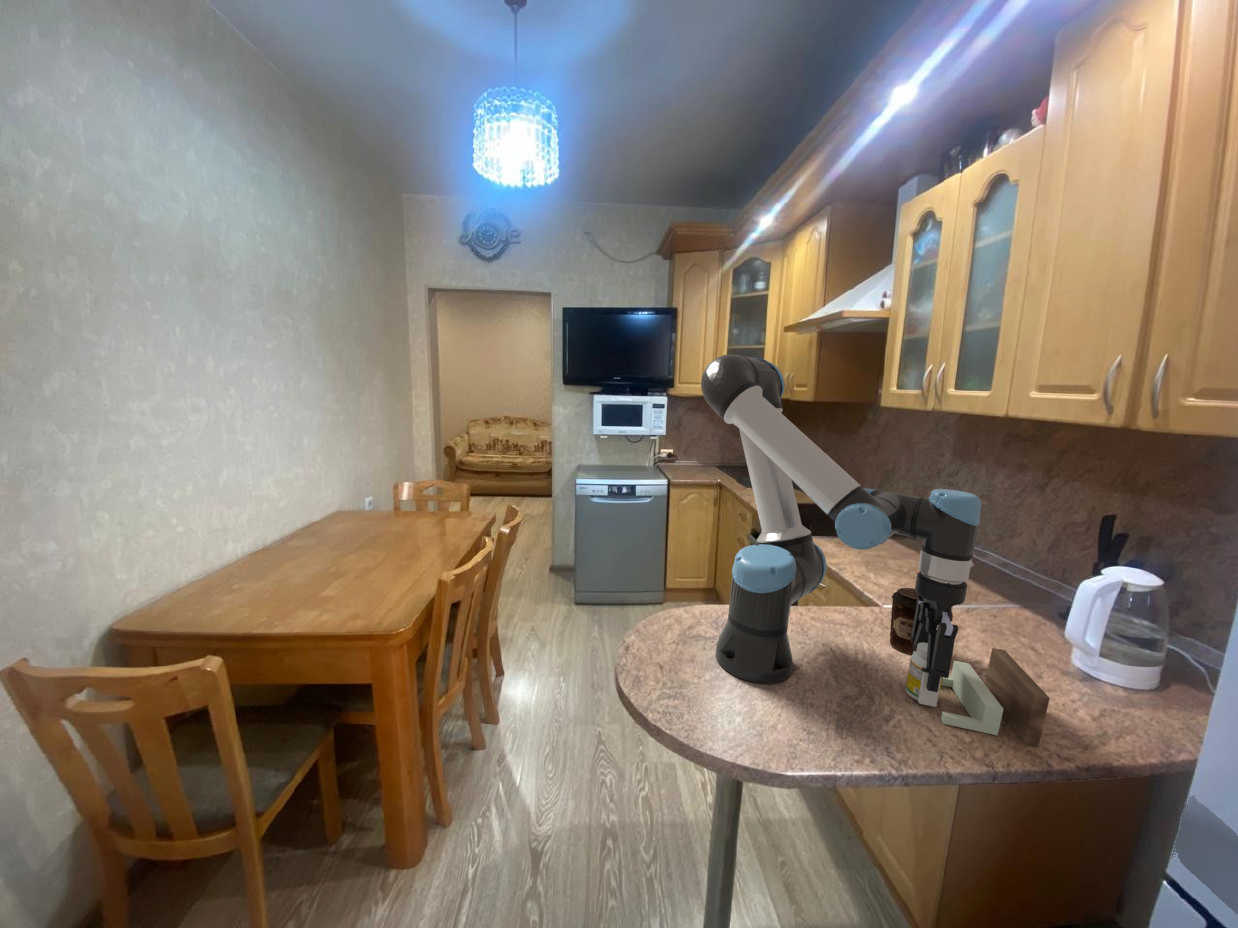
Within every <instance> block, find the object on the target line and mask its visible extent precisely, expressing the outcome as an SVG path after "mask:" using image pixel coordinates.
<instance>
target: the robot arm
mask: <svg viewBox="0 0 1238 928" xmlns="http://www.w3.org/2000/svg"><path fill="white" fill-rule="evenodd" d="M785 384H786V383H785V380H784V375H783V374H782V371H781V370H780V369H779V368H778V366H776V364H774V363H772V362H771V361H768V360H766V359H764V358H761V357H750V356H749V357H748V356H744V355H738V354H732V353H731V354H730V353H729V354H724V355H721V356H718V357H716V358H714V359H712V360H711V361H710V363H708V365H706V367H705V369H704V370H703V373H702V376H701V379H700V389H701V393H702V396H703V398H704V400H705V401H706V403H707V404H708V405H709V407H710V408H711V409H712V410H713V412H714V413H716V414H717V416H718V417H720V418H721V419H722V420H723V421H724V423H726V424H728V425H731V424H732V425H734V426H735V427H737V429H739V435H740V439H741V444H742V448H743V452H744V457H745V461H746V466H747V470H748V476H749V479H750V484H751V488H752V493H753V497H754V498H753V499H754V501H755V502H754V503H755V506H756V510H757V511H756V512H757V514H758V518H759V523H760V528H761V533H760V534H759V536H758V537H757V538H756V542H757V544H752V545H747V546H745V547H742V548H741V549H740V550H739V551H737V553H736V555H735V556H734V561H733V562H734V563H733V565H732V569H731V576H732V577H731V585H730V594H729V605H728V614H727V615H728V617H727V621H726V623H725V625H724V628H723V629H722V632H721V633H720V635H719V637H718V640H717V642H716V645H715V646H716V647H715V660H716V661H717V662H718V664H719V666H720V667H721V668H723V669H724V670H725V671H726V672H727V673H729V674H731V675H733V676H734V677H737V678H739V679H742V680H744V681H748V682H751V683H755V684H767V685H768V684H777V683H780V682H784V681H786V680H787V679H789V677H790V676H791V674H792V672H793V671H792V669H793V663H794V662H793V660H794V659H793V654H792V650H791V646H790V645H791V644H790V641H789V635H788V629H789V628H788V627H789V620H790V619H789V618H790V612H791V607H792V605H793V604H794V603H796V602H797V601H799V600H800V599H802V598H803V597H805V596H806V595H808V594H810V593H812V592H814V591H815V590H816V589H817V588H818V587H819V586H820V584H821V583H822V582H823V580H824V578H825V576H826V573H827V567H828V565H827V560H826V555H825V554H824V552H823V550H822V549H821V547H820V546H819V545H817V543H815V542H814V539H813V535H812V531H811V530H810V529H808V528H807V527H806V526H804V525H803V524H802V520H801V515H800V511H799V507H798V502H797V499H796V494H795V490H794V489H795V488H794V485H793V483H794V484H795V485H797V486H798V488H799V489H800V490H802V492H803V493H805V494H806V496H807V497H808V498H809V499H810V500H812V501H813V502H814V503H815V504H816V505H817V507H819V508H820V509H821V510H822V512H824V513H825V514H826V515H827V516H828V517H829V518H830V519H831V520H832V521H833V522H834V528H835V531H836V532H835V533H836V535H837V537H838V539H839V540H840V541H841V542H842V543H843V544H844V545H846V546H848V548H852V549H855V550H865V551H866V550H869V549H873V548H876V547H878V546H880V545H883V544H884V543H885V542H886V541H888V539H889V538H891V537H893V536H894V535H895V534H896V535H900V536H904V537H905V536H906V537H909V538H915V539H919V540H922V545H921V548H920V555H919V558H918V559H919V560H918V564H917V569H918V572H917V574H916V575H917V576H916V580H915V586H914V589H915V591H916V592H917V594H918V595H917V606H916V612H915V617H914V623H913V628H912V634H911V638H910V639H911V642H914V644H913V649H914V650H915V651H913V654H914V653H916V652H917V650H916V649H917V645H918V643H922V642H923V643H928V650H927V665H926V668H923V667H922V672H923V674H922V680H921V686H920V692H919V697H918V700H917V702H918V704H919V705H924V706H925V705H926V706H930V707H934V708H937V704H938V701H937V699H938V694H939V689H940V683H941V678H942V677H944V678H948V677H950V670H951V665H952V658H953V653H954V646H955V640H956V637H957V634H958V631H959V626H958V624H953V622H952V621H953V619H954V617H953V616H954V614H953V612H952V611H953V607H954V606H960V605H962V604H964V603H965V600H966V595H967V589H968V584H967V581H968V580H969V578H970V571H971V568H973V567H974V566H975V564H974V562H973V556H974V551H975V547H976V541H977V537H978V533H979V527H980V521H981V520H980V518H981V511H982V500H981V498H980V497H979V496H977V495H976V494H974V493H970V492H967V491H962V490H956V489H945V488H936V489H933V490H932V491H931V493H930V495H929V496H928V497H922V496H921V497H920V496H914V495H909V494H903V493H897V492H892V491H886V490H883V489H880V488H877V489H875V488H868V487H867V488H866V487H865V488H864V487H862V485H861V484H860V483H858V482H857V480H855V479H854V478H853V477H852V476H851V475H850V474H849V473H848V472H847V471H845V469H843V468H842V467H841V466H840V465H839V464H838V463H836V461H834V460H833V459H832V458H831V457H830V456H829V455H828V454H827V453H826V452H824V451H823V450H822V449H821V448H820V447H819V446H818V444H816V443H814V441H812V440H811V439H810V438H809V437H808V436H807V435H806V434H805V433H803V431H801V430H800V429H799V427H797V426H796V425H795V424H794V423H793V422H792V421H791V420H789V419H788V418H787V417H786V416H785V415H784V414H783V413H782V412H783V411H784V410H783V406H782V405H783V404H782V401H781V399H782V396H783V395H784V393H785V387H786V386H785Z"/></svg>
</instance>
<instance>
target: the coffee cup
mask: <svg viewBox="0 0 1238 928" xmlns="http://www.w3.org/2000/svg"><path fill="white" fill-rule="evenodd" d="M917 595H918V594H917V592H916V591H915V588H911V587H901V588H898V589H897V590H896V591H895V592H894V593H892V595H891V599H892V602H891V603H892V605H891V614H890V615H891V617H890V627H889V628H890V631H889V644H890V646H891V647H892V648H894V649H896V650H897V651H900V652H902V653H907V654H910V655H911V654H913V651H915V650H914V649H913V644H914V642H911V639H910V638H911V634H912V628H913V623H914V617H915V612H916V606H917Z"/></svg>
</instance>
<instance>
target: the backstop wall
mask: <svg viewBox="0 0 1238 928" xmlns="http://www.w3.org/2000/svg"><path fill="white" fill-rule="evenodd" d="M984 684H985V685H986V687H987V688H988V689H989V691H990V692H991V693H992V694H993V696H994V697H995V698H996V700H997V701H998V702H999V704H1000V705H1001V706H1002V708H1003V714H1002V718H1004V720H1005V721H1006V723H1008V725H1009V726H1010V728H1011V729H1012V730H1013V732H1014V734H1015V735H1016V736H1017V737H1018V739H1019V740H1020V741H1021V743H1022V744H1023V745H1025V746H1031V747H1034V748H1039V745H1040V741H1041V740H1040V739H1041V737H1042V732H1043V728H1044V723H1045V718H1046V715H1047V711H1048V707H1049V703H1050V699H1051V698H1050V696H1048V695H1047V694H1046V692H1045V691H1044V690H1043V689H1042V688H1041V687H1040V686H1039V685H1038V684H1037V683H1036V682H1035V680H1034V679H1032V677H1031V676H1030V675H1029V673H1027V672H1026V671H1025V670H1024V669H1023V668H1022V667H1021V666H1020V664H1018V663H1017V662H1016V661H1015V659H1014V658H1013V657H1012V656H1011V655H1010V654H1009V652H1007V651H1006V650H1005V649H1001V648H996V647H995V648H994V647H991V652H990V658H989V662H988V667H987V671H986V676H985V681H984Z"/></svg>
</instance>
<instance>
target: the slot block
mask: <svg viewBox="0 0 1238 928" xmlns="http://www.w3.org/2000/svg"><path fill="white" fill-rule="evenodd" d="M941 686H944V687H949V688H952V690H953V691H954V693H955V694H956V696H957V698H958V699H959V701H960V703H961V704H962V705H963V707H964V708H965V711H967V713H968V715H969V716H965V715H960V714H955V713H951V712H947V711H942V713H941V717H940V721H941V722H942V723H943V725H948V726H951V727H956V728H962V729H966V730H971V731H974V732H975V731H976V732H979V733H984V734H988V735H993V736H999V731H1000V726H1001V722H1002V718H1003V716H1002V714H1003V708H1002V706H1001V705H1000V704H999V702H998V701H997V700H996V698H995V697H994V696H993V694H992V693H991V692H990V691H989V689H988V688H987V687H986V685H985V682H984V681H983V680H982V679H981V678H980V676H979V675H978V673H977V672H976V671H975V669H974V668H973V667H972V666H971V664H970V663H969V662H968V663H967V662H965V661H964V662H962V661H957V660H953V665H952V670H951V675H950V676H949V677H948V678H944V677H943V680H942V685H941Z"/></svg>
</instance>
